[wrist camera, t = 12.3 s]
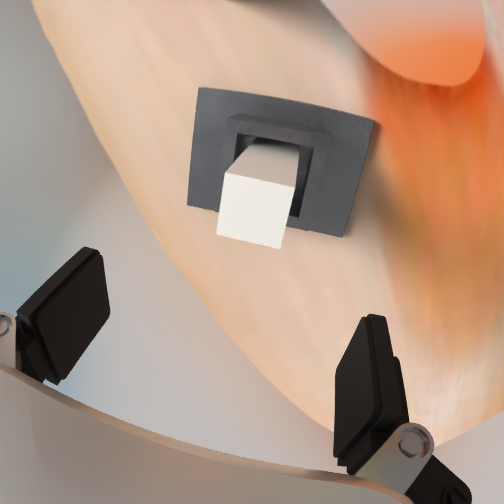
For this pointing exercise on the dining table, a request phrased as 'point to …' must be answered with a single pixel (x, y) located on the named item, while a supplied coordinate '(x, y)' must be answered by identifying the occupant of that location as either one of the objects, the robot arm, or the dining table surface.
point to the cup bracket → (288, 132)
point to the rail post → (259, 193)
